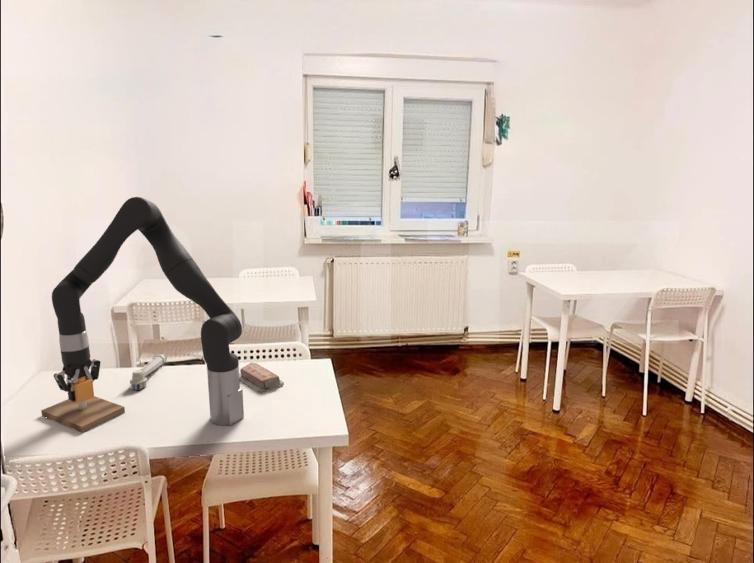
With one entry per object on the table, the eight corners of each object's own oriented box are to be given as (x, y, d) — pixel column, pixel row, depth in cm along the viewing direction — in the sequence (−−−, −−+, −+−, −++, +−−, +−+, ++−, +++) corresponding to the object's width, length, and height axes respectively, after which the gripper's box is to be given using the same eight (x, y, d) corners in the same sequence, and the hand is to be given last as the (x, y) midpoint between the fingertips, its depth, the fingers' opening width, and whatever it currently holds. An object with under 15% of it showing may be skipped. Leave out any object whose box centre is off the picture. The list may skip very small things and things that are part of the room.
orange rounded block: (84, 392, 166) (82, 372, 164) (94, 396, 164) (92, 376, 162) (68, 399, 162) (66, 378, 160) (78, 403, 160) (76, 382, 158)
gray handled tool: (168, 353, 204) (142, 371, 179) (168, 369, 205) (142, 390, 180) (154, 353, 204) (126, 371, 179) (155, 369, 205) (127, 390, 180)
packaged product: (284, 373, 186) (259, 381, 179) (285, 386, 187) (260, 395, 180) (258, 358, 198) (234, 365, 192) (258, 370, 199) (234, 378, 193)
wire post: (88, 407, 164) (85, 385, 162) (81, 410, 162) (78, 388, 161) (84, 406, 165) (81, 384, 163) (77, 409, 163) (74, 387, 162)
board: (124, 412, 166) (124, 406, 165) (82, 432, 154) (82, 426, 153) (84, 398, 175) (84, 392, 174) (42, 416, 163) (41, 410, 162)
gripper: (89, 336, 167) (95, 386, 171) (43, 351, 154) (51, 404, 158) (104, 340, 163) (110, 391, 167) (58, 356, 151) (66, 410, 155)
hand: (81, 397), depth 163 cm, fingers closed on orange rounded block, 4 cm apart
